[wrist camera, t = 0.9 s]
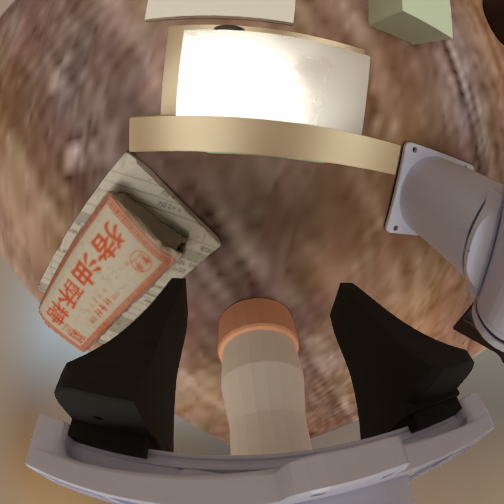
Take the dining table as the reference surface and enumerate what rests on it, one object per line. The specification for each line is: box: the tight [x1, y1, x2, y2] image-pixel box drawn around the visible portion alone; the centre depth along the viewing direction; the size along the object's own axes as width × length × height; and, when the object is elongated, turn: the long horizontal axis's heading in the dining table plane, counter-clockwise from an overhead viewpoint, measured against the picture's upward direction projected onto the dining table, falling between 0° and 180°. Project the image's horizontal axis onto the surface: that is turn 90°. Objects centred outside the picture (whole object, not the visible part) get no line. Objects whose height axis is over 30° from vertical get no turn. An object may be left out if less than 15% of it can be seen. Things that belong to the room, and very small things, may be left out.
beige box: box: [129, 25, 401, 175], centre depth 13 cm, size 13×8×7 cm, turn 85°
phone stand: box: [453, 302, 504, 363], centre depth 25 cm, size 9×6×12 cm, turn 152°
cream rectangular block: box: [176, 25, 370, 135], centre depth 12 cm, size 9×5×5 cm, turn 85°
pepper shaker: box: [218, 298, 312, 455], centre depth 18 cm, size 7×7×19 cm
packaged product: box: [38, 152, 221, 352], centre depth 20 cm, size 18×5×10 cm
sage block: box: [368, 0, 453, 45], centre depth 10 cm, size 4×4×5 cm
